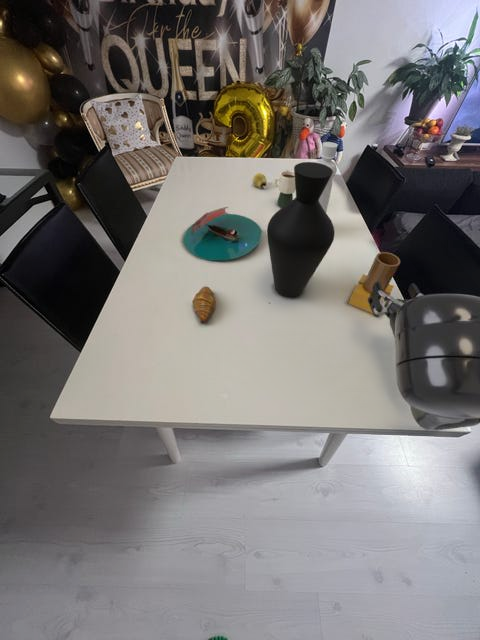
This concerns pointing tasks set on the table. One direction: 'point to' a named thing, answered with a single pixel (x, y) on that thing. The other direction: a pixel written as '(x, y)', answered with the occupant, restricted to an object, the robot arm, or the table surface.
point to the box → (364, 295)
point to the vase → (300, 231)
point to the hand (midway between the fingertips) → (393, 284)
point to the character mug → (285, 187)
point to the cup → (381, 270)
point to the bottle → (327, 156)
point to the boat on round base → (222, 236)
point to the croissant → (204, 304)
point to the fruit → (259, 180)
